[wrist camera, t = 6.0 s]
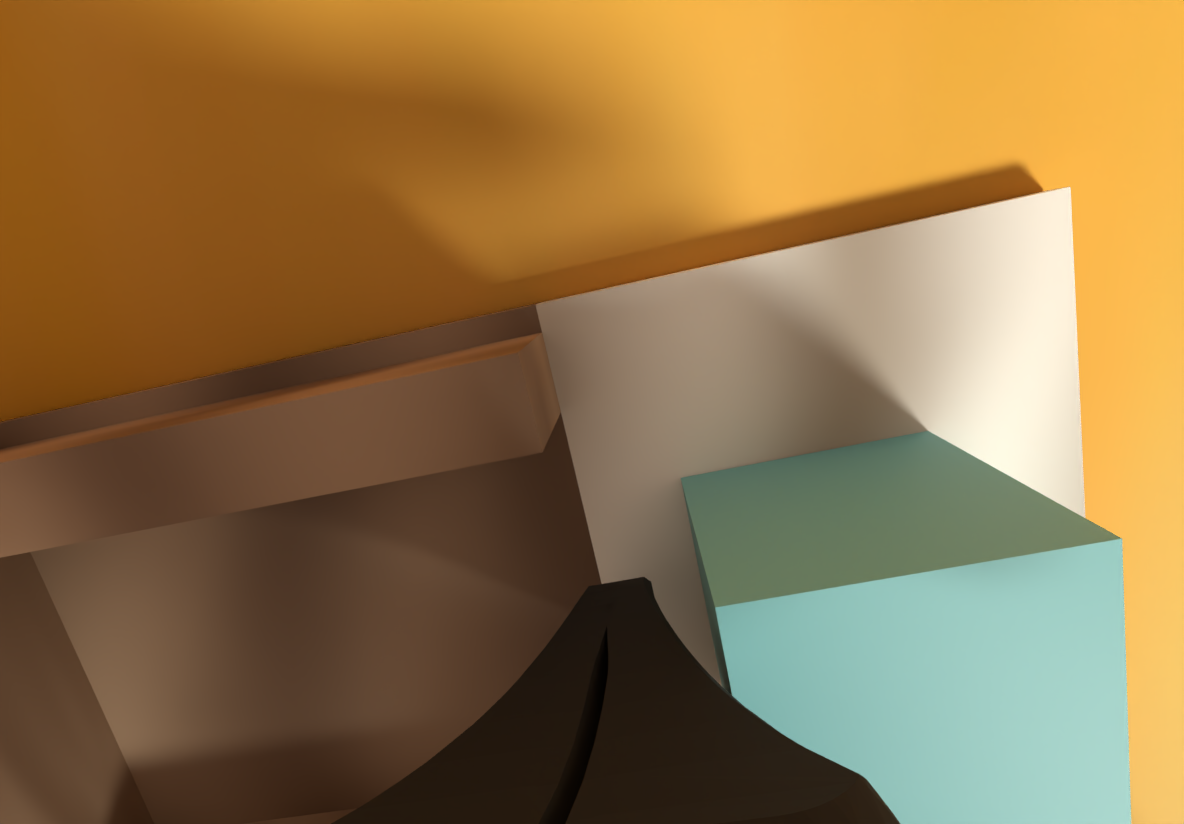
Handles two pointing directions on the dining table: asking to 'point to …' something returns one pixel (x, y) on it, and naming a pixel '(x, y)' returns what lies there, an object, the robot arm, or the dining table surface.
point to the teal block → (923, 628)
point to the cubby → (468, 506)
